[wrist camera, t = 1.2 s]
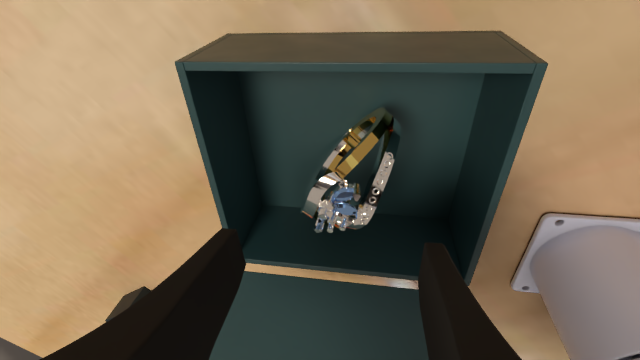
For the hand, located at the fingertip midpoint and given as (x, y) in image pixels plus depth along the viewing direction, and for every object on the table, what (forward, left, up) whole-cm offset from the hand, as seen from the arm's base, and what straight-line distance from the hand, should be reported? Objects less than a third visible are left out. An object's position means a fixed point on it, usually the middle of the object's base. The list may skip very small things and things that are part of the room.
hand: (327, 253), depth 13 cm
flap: (0, +8, -1) cm, 8 cm away
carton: (0, +1, -11) cm, 11 cm away
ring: (0, 0, -10) cm, 10 cm away
